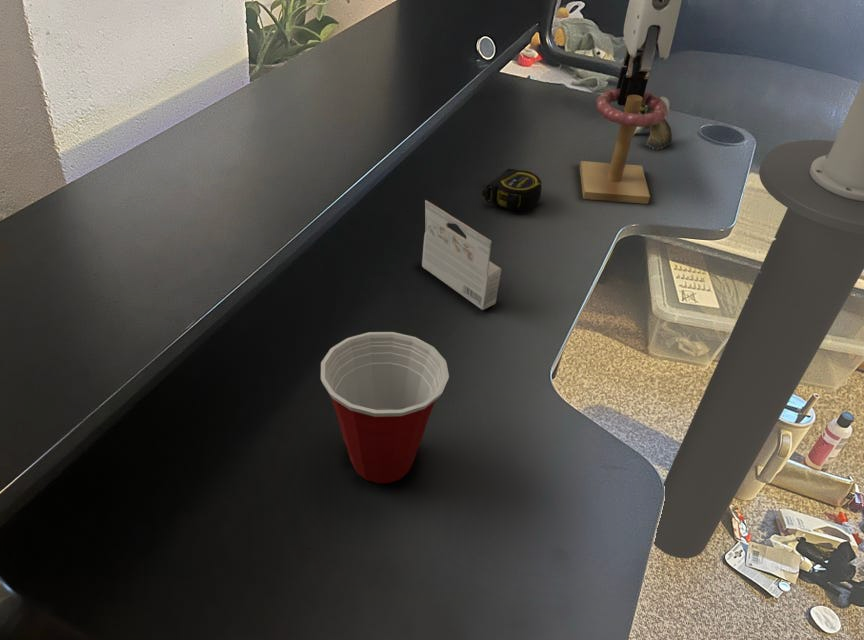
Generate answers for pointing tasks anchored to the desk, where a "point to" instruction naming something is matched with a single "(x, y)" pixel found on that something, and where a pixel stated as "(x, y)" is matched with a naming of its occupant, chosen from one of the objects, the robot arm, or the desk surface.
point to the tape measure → (514, 190)
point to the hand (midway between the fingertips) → (627, 99)
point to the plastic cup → (383, 398)
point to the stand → (617, 169)
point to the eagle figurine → (657, 129)
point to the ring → (631, 118)
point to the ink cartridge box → (459, 258)
